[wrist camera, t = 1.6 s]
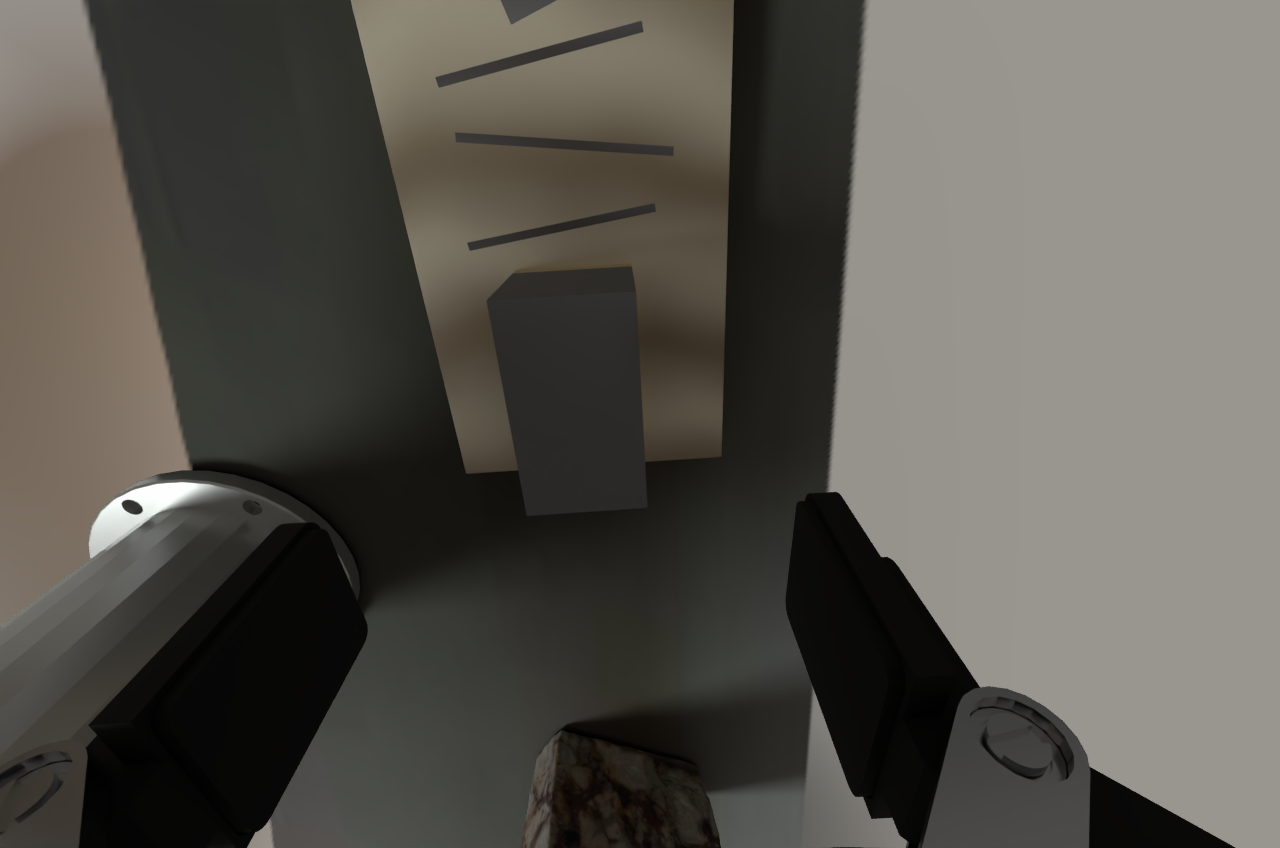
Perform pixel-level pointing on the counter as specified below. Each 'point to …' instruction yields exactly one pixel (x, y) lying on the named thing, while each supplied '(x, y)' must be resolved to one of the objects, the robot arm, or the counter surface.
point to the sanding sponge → (572, 386)
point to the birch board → (564, 183)
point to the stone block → (615, 799)
